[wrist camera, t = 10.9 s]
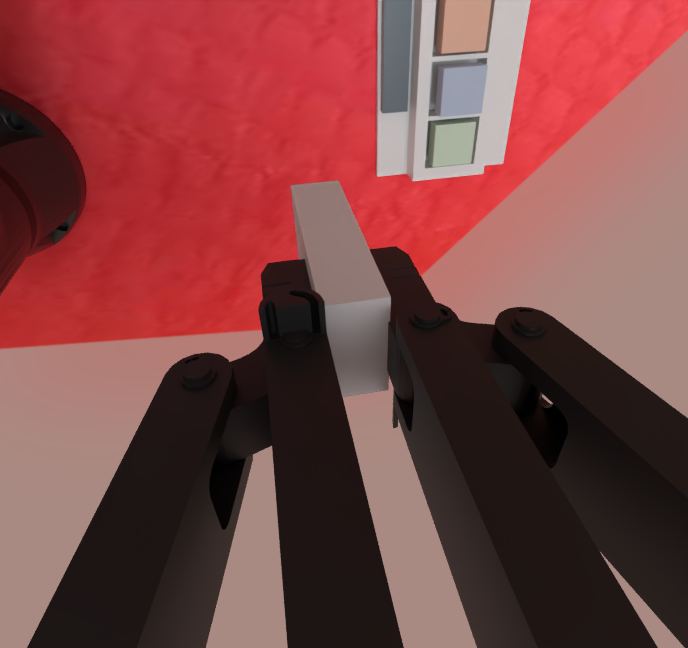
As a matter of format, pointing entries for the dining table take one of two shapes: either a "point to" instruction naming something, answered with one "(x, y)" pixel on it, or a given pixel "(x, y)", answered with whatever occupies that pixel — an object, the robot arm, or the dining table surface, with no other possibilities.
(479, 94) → the key slate
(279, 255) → the dining table surface
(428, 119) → the keypad
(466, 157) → the key sage
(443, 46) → the key terracotta
